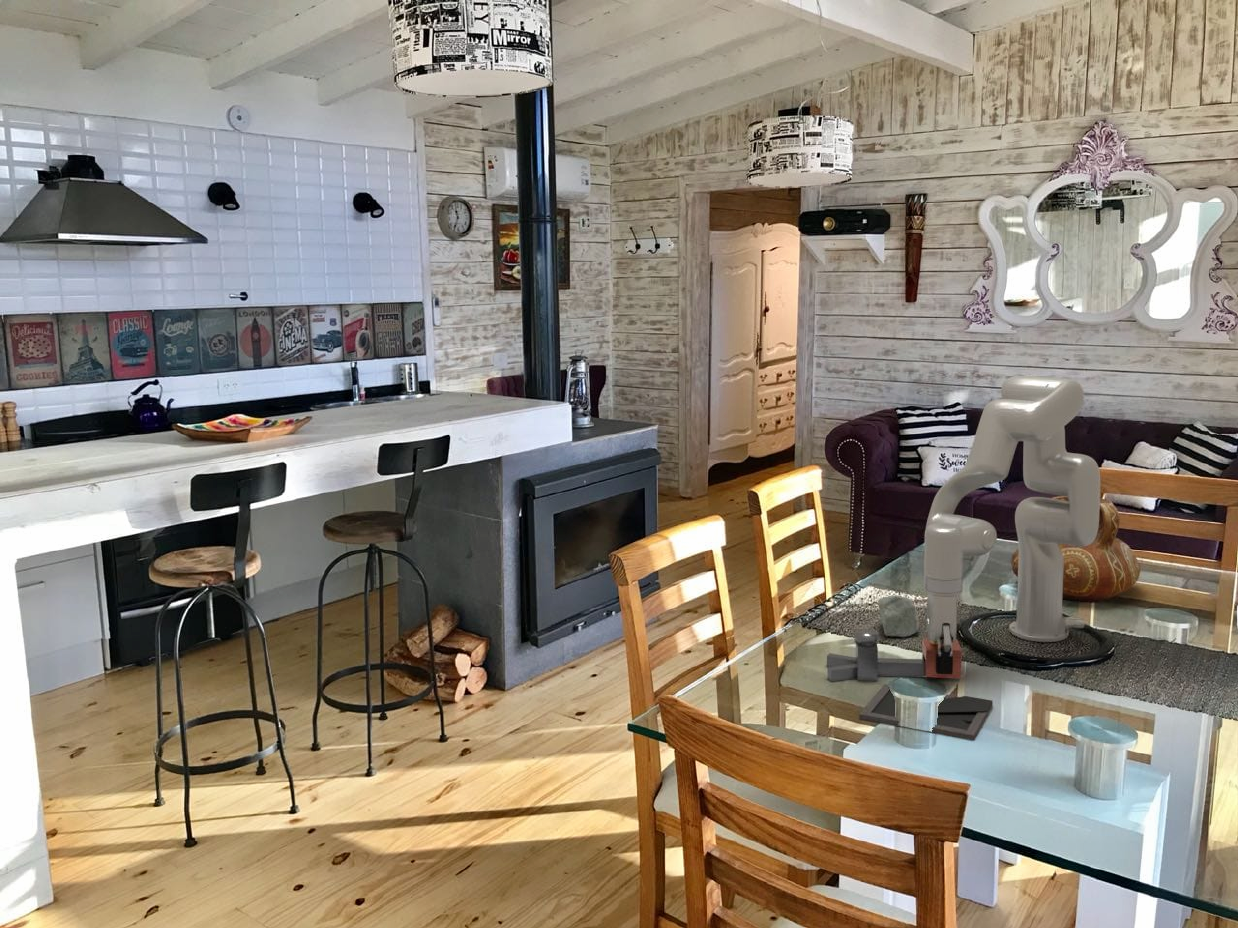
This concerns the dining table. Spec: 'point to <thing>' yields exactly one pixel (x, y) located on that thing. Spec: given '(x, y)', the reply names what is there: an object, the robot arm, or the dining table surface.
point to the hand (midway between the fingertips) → (941, 666)
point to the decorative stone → (898, 616)
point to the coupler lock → (930, 659)
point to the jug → (1096, 562)
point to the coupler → (870, 661)
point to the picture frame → (953, 713)
